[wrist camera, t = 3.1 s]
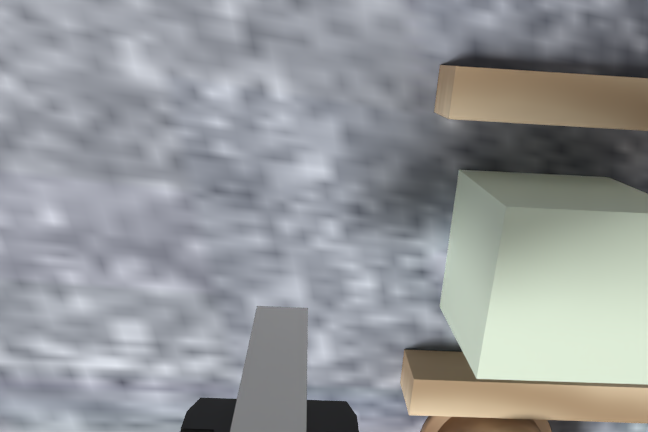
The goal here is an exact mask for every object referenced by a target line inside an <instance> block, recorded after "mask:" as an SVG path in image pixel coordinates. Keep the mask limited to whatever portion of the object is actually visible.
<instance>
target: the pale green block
mask: <svg viewBox="0 0 648 432" xmlns="http://www.w3.org/2000/svg"><path fill="white" fill-rule="evenodd" d="M440 308H441V310H442V312H443V314H444V316H445V318H446V320H447V322H448V324H449V326H450V328H451V330H452V332H453V334H454V336H455V338H456V340H457V342H458V344H459V346H460V348H461V349H462V351H463V353H464V355H465V357H466V359H467V361H468V363H469V365H470V367H471V369H472V371H473V373H474V375H475V377H476V379H496V380H526V381H556V382H586V383H616V384H647V385H648V194H647V193H645V192H642V191H640V190H638V189H635V188H633V187H630V186H628V185H626V184H623V183H621V182H618V181H616V180H614V179H611V178H609V177H594V176H574V175H555V174H535V173H515V172H495V171H476V170H459V173H458V180H457V187H456V194H455V202H454V209H453V216H452V223H451V230H450V237H449V244H448V251H447V259H446V266H445V273H444V280H443V287H442V294H441V301H440Z"/></svg>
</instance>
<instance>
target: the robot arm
mask: <svg viewBox="0 0 648 432" xmlns="http://www.w3.org/2000/svg"><path fill="white" fill-rule="evenodd" d="M307 326H308V308H291V307H268V306H257V309H256V313H255V318H254V323H253V327H252V332H251V336H250V341H249V346H248V350H247V355H246V360H245V364H244V369H243V374H242V378H241V383H240V387H239V392H238V397H237V399H221V398H200V399H199V400H198V401H197V402H196V403H195V404H194V405H193V406H192V407H191V408H190V409H189V410H188V411H187V413H186V415H185V418H184V421H183V424H182V427H181V432H359V430H358V422H357V416H356V414H355V413H354V411H353V410H352V409H351V407H350V406H349V404H348V403H347V402H346V401H320V400H307Z"/></svg>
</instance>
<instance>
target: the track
mask: <svg viewBox="0 0 648 432" xmlns="http://www.w3.org/2000/svg"><path fill="white" fill-rule="evenodd" d="M434 112H435V113H437V114H439V115H441V116H443V117H445V118H447V119H455V120H472V121H488V122H505V123H522V124H539V125H556V126H573V127H590V128H607V129H624V130H641V131H648V78H638V77H622V76H606V75H591V74H575V73H559V72H544V71H528V70H512V69H497V68H481V67H465V66H449V65H440V69H439V77H438V85H437V93H436V101H435V109H434ZM400 384H401V387H402V391H403V395H404V398H405V402H406V406H407V409H408V413H409V415H419V416H448V417H478V418H507V419H536V420H566V421H595V422H625V423H648V385H647V384H616V383H586V382H556V381H526V380H496V379H476V377H475V375H474V373H473V371H472V369H471V367H470V365H469V363H468V361H467V359H466V357H465V355H464V353H463V352H454V351H429V350H404V357H403V365H402V373H401V381H400Z"/></svg>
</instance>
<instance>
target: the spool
mask: <svg viewBox="0 0 648 432" xmlns="http://www.w3.org/2000/svg"><path fill="white" fill-rule="evenodd" d="M420 432H552V431H551V428H550V425H549V423H548V421H547V420H536V419H507V418H478V417H448V416H429V417H428V418H427V419H426V421H425V423H424V424H423V426H422V429H421V431H420Z"/></svg>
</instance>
